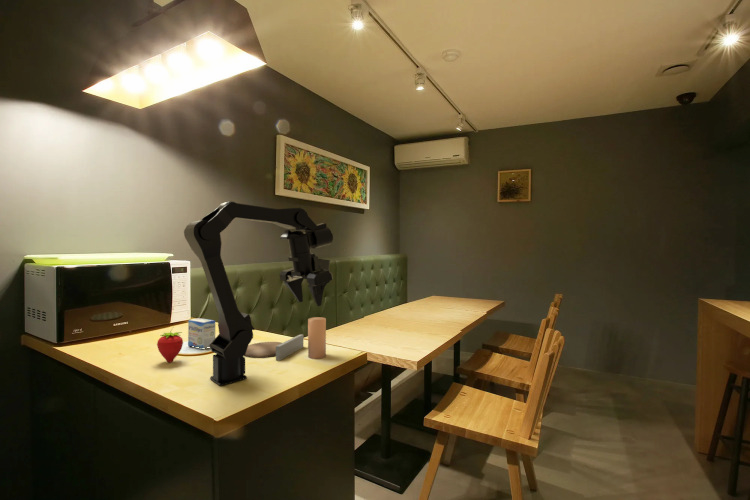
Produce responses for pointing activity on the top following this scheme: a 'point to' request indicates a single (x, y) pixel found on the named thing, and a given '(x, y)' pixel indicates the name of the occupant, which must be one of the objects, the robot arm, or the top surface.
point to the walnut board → (262, 349)
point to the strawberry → (170, 345)
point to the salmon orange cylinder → (316, 337)
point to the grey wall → (289, 347)
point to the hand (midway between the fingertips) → (309, 303)
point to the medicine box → (201, 332)
